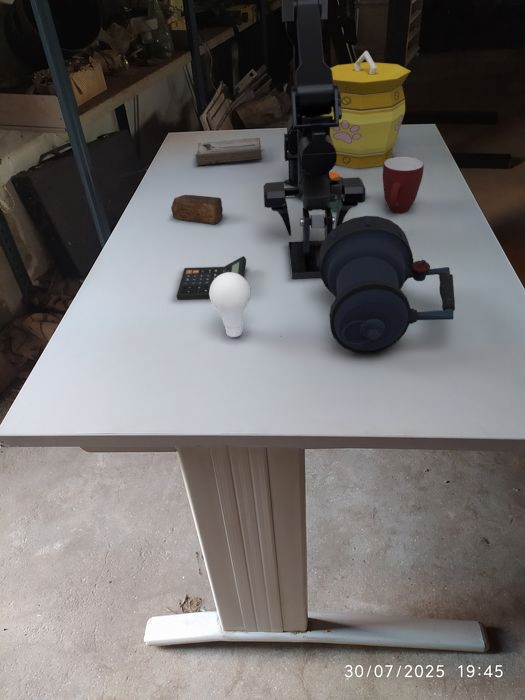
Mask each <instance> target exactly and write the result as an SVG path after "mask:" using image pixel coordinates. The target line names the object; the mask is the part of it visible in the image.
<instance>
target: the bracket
mask: <svg viewBox="0 0 525 700" xmlns="http://www.w3.org/2000/svg"><path fill="white" fill-rule="evenodd" d="M301 210H302V213H301V214H302V217H301V218H300V219H299V226H300V227H302V240H297V241H296V240H295V241H288V255H289V263H290V272H291V280H301V279H304V280H305V279H322V278H321V270H320V268H319V267H318V264H317V261H318V259H319V254H320V248H321V245H322V243H323V241H324V239H325V238H326V236H327V235H328V234H329V233H330V232H331V231H332V230H333V229H334V226H335V221H336V218H335V216H334V215H333V211H332V210H331V207H330V208H329V209H327V210H324V217H325V218H324V228H323V239H318V240H317V239H315V240H311V226H310V211H307V210H304V208H303V207H302V209H301Z"/></svg>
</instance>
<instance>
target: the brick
mask: <svg viewBox="0 0 525 700" xmlns="http://www.w3.org/2000/svg"><path fill="white" fill-rule="evenodd" d="M170 210H171V214H172V217H173V218H174V219H177V220H179V221H185V222H194V223H200V224H209V225H217V224H218V223H219V222H220V220H221V219H223V210H224V209H223V202H222V198H221V197H216V196H207V195H196V194H195V195H194V194H183V195H179V196H177V197H174V199H173V201H172V203H171V207H170Z"/></svg>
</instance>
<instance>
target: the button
mask: <svg viewBox="0 0 525 700" xmlns="http://www.w3.org/2000/svg"><path fill="white" fill-rule="evenodd" d="M329 175H330V179H333V180H339V177H340V174H339V173H338V172H336V171H330V172H329Z"/></svg>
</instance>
